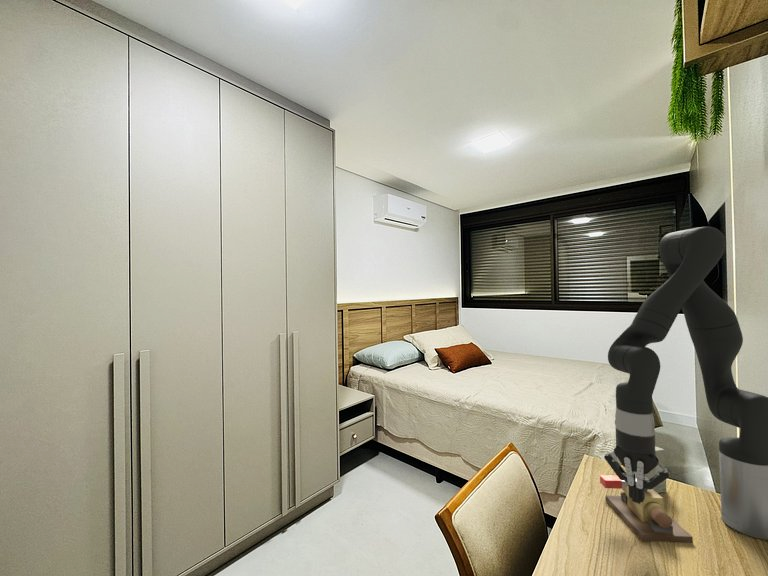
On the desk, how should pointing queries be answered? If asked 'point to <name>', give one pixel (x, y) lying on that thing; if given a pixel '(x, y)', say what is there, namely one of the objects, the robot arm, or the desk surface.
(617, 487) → the valve lever
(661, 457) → the skincare box
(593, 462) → the desk surface
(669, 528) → the valve rig
